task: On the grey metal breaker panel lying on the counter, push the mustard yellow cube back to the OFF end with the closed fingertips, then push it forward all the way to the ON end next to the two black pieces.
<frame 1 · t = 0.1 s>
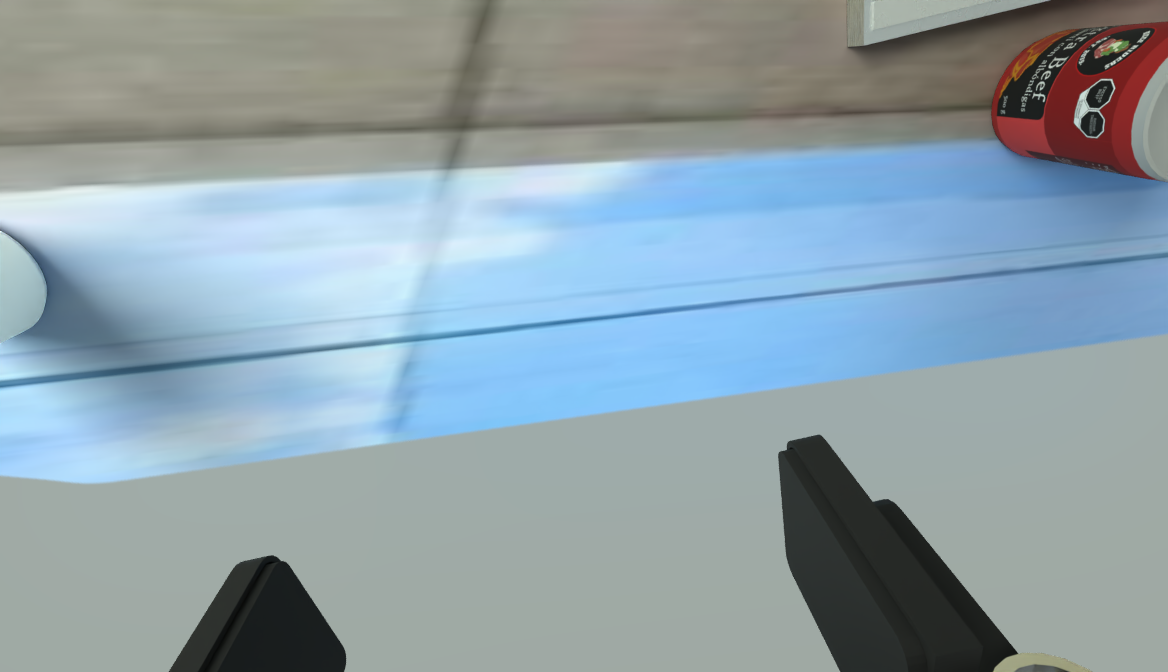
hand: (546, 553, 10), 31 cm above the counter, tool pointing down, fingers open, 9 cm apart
canned food: (1040, 95, 38), on the counter
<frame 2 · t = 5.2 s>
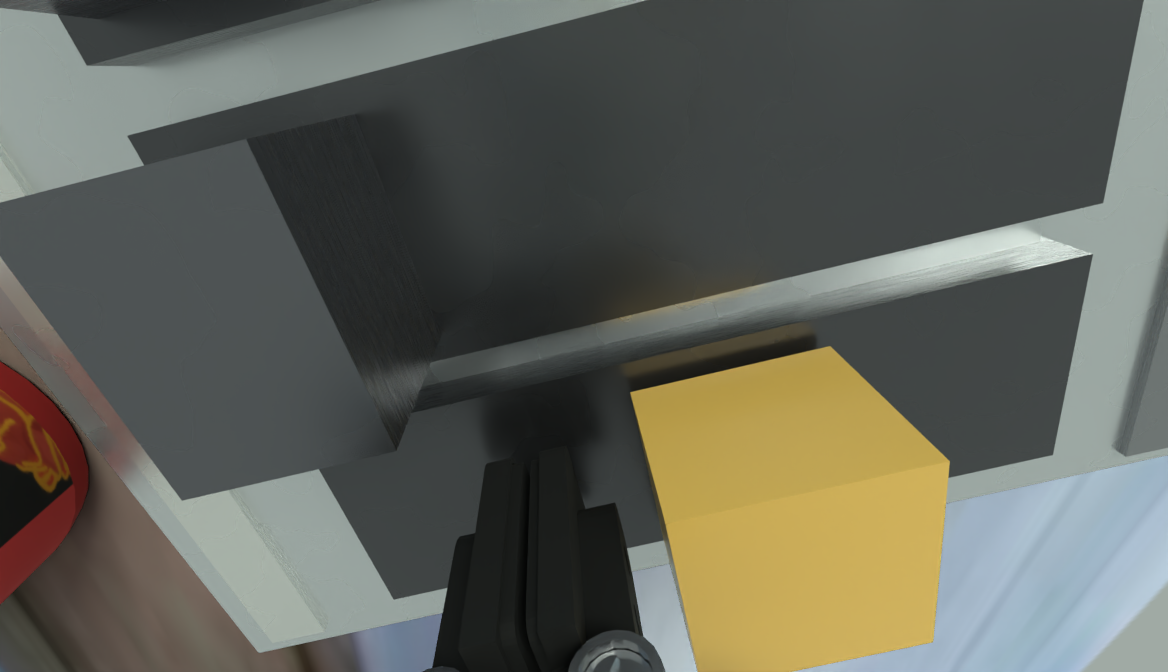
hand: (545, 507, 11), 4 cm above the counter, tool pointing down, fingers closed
panel: (630, 149, 12), on the counter
mustard yellow cube: (770, 507, 10), point 5 cm above the counter, slide at -0.8 cm, touching gripper
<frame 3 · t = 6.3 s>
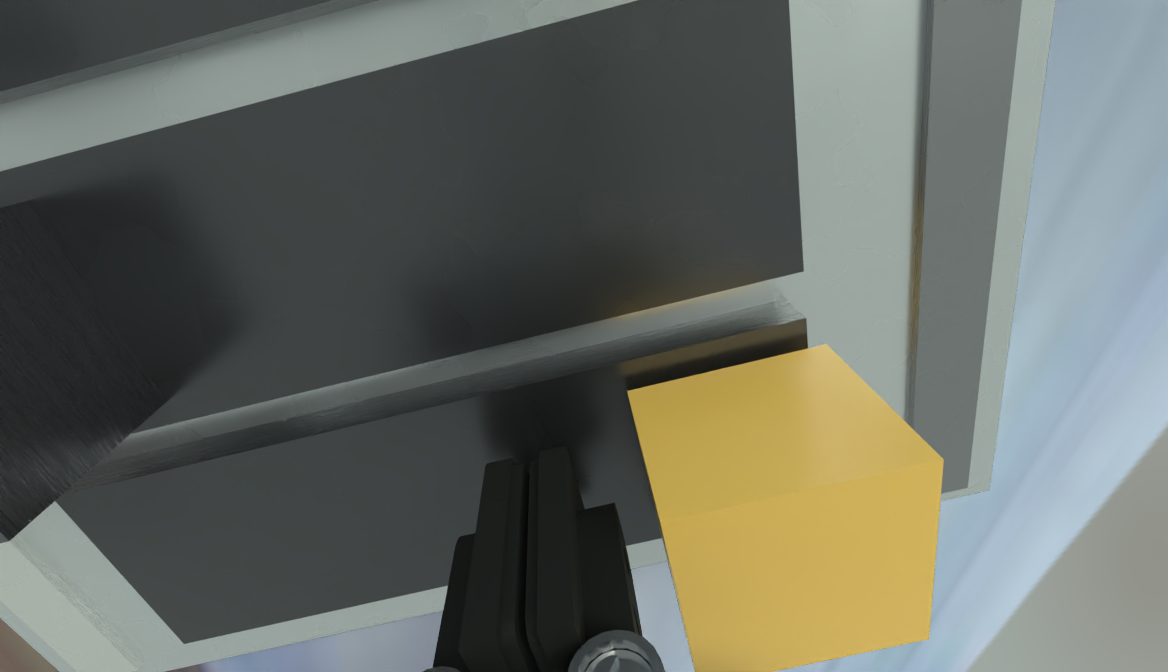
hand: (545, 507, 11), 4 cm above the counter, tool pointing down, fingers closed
panel: (387, 209, 12), on the counter
mustard yellow cube: (766, 505, 10), point 5 cm above the counter, slide at -6.2 cm, touching gripper
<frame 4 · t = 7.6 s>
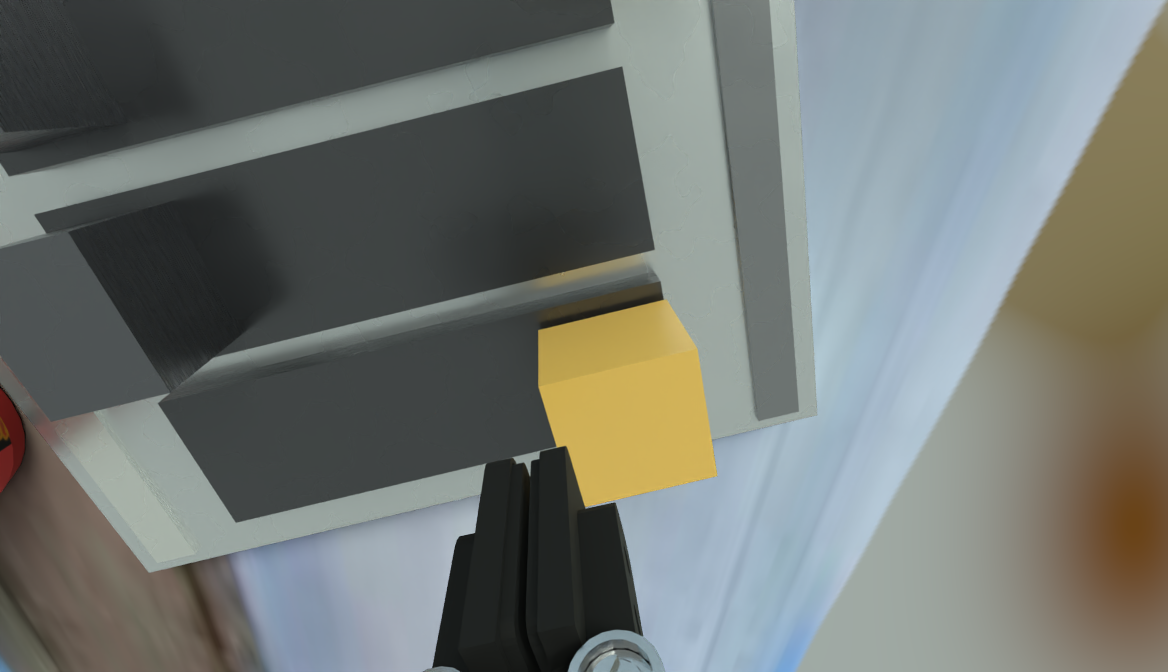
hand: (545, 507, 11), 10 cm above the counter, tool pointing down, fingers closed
panel: (388, 211, 18), on the counter
mustard yellow cube: (623, 399, 16), point 5 cm above the counter, slide at -6.0 cm
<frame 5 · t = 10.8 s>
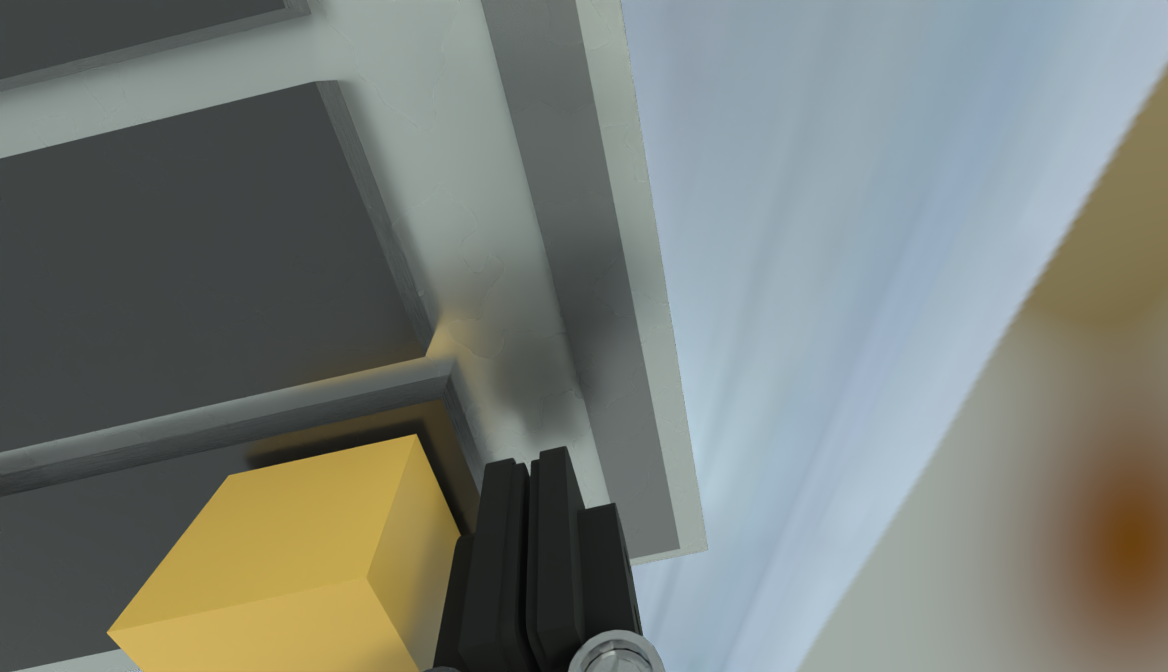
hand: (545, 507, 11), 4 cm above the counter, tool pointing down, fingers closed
panel: (77, 278, 13), on the counter
mustard yellow cube: (332, 593, 10), point 5 cm above the counter, slide at -5.3 cm, touching gripper
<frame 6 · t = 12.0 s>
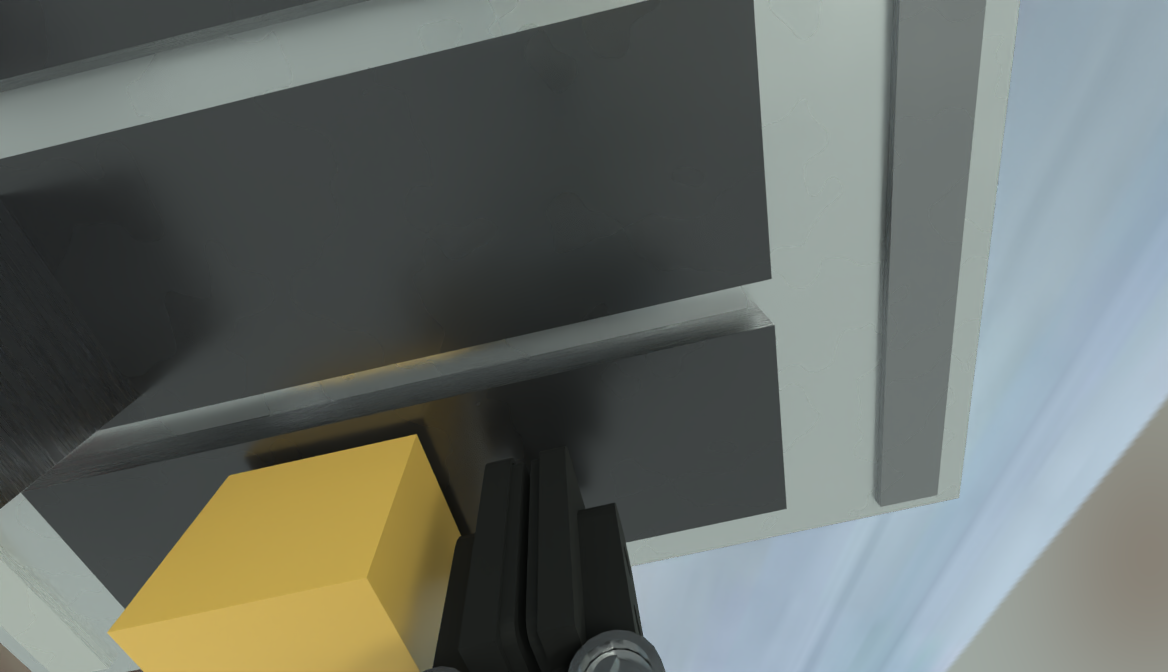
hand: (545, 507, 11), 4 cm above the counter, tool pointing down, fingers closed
panel: (365, 210, 12), on the counter
mustard yellow cube: (333, 593, 10), point 5 cm above the counter, slide at 1.5 cm, touching gripper
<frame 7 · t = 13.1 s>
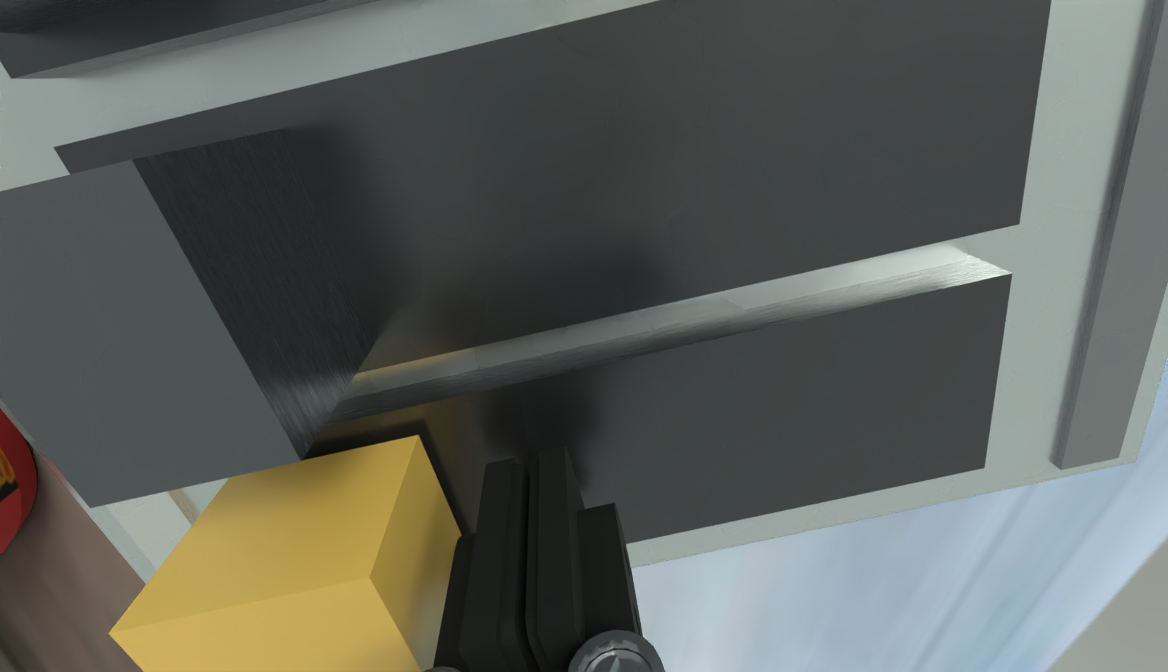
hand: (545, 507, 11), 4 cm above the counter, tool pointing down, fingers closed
panel: (571, 163, 12), on the counter
mustard yellow cube: (334, 594, 10), point 5 cm above the counter, slide at 6.3 cm, touching gripper
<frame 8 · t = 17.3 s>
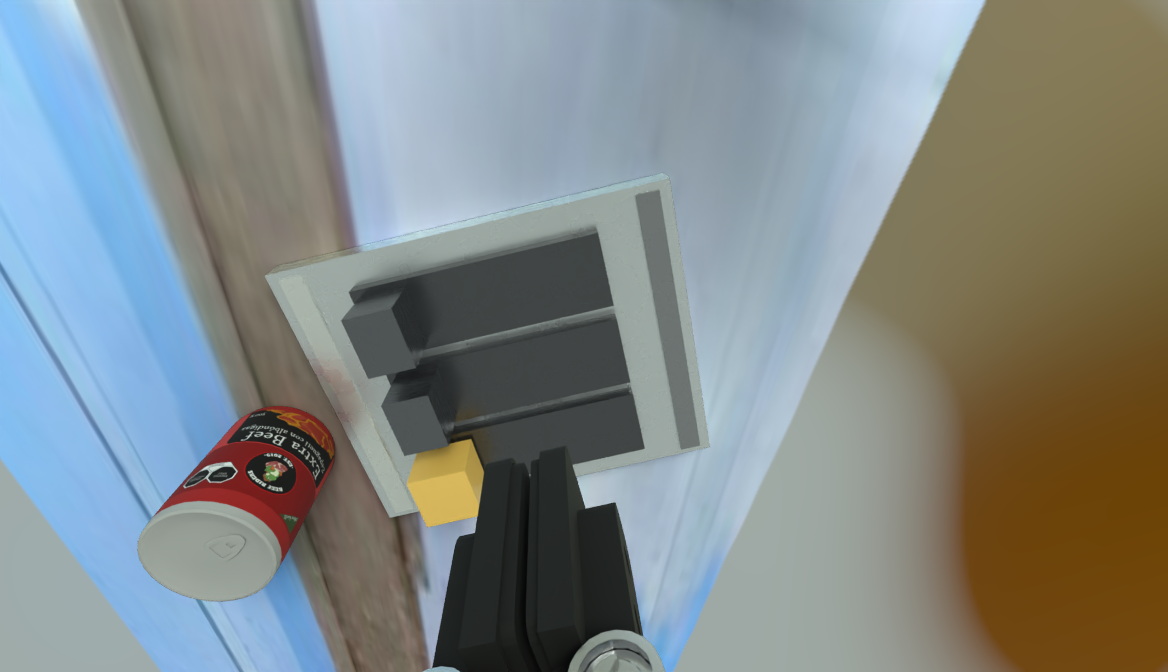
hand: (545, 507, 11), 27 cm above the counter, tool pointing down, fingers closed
panel: (512, 357, 40), on the counter
mustard yellow cube: (449, 482, 39), point 5 cm above the counter, slide at 6.0 cm
canned food: (286, 443, 42), on the counter
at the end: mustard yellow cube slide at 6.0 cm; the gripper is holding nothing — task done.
